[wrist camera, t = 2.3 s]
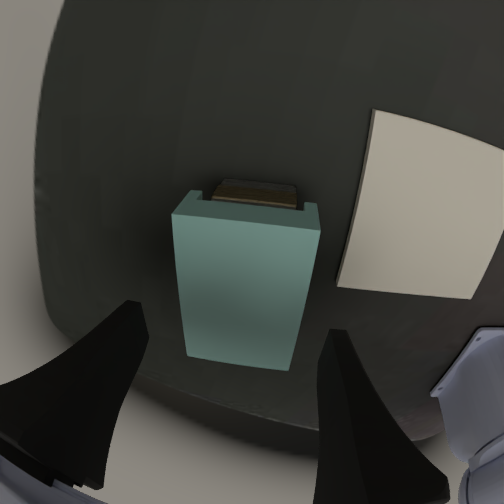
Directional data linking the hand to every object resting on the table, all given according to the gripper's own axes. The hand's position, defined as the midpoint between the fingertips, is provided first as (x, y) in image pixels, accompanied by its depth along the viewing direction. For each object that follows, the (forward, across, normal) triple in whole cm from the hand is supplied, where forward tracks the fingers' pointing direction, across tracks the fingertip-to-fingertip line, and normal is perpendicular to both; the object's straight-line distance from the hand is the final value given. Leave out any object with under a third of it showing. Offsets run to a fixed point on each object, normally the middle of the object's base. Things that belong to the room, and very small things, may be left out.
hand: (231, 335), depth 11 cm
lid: (+3, 0, 0) cm, 3 cm away
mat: (+7, -10, -3) cm, 13 cm away
